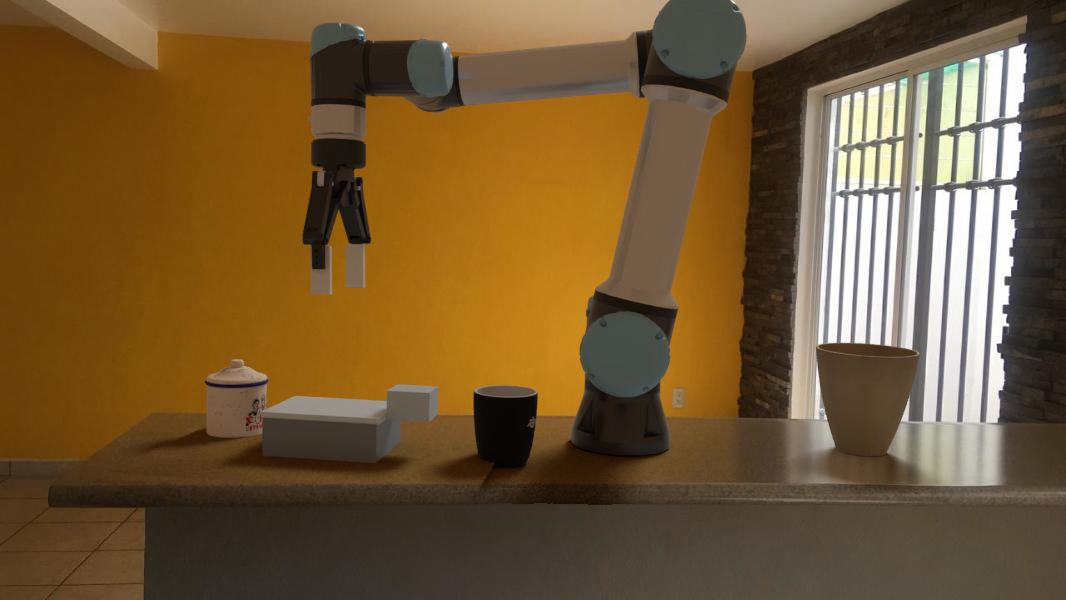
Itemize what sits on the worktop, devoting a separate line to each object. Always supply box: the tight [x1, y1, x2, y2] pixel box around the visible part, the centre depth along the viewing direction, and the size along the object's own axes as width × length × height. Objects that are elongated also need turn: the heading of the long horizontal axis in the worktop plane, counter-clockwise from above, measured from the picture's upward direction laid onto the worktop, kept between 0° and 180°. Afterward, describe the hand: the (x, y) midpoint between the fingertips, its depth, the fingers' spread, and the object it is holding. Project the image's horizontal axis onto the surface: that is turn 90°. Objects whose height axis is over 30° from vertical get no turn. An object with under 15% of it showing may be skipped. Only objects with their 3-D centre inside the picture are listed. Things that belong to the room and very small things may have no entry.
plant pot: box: [815, 342, 920, 457], centre depth 133 cm, size 15×15×16 cm
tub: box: [261, 418, 402, 464], centre depth 123 cm, size 16×12×6 cm
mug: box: [472, 384, 539, 469], centre depth 122 cm, size 12×9×10 cm
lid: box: [261, 383, 439, 425], centre depth 122 cm, size 23×12×5 cm, turn 83°
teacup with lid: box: [204, 358, 269, 439], centre depth 133 cm, size 12×9×12 cm
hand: (339, 291), depth 123 cm, fingers open, 13 cm apart
